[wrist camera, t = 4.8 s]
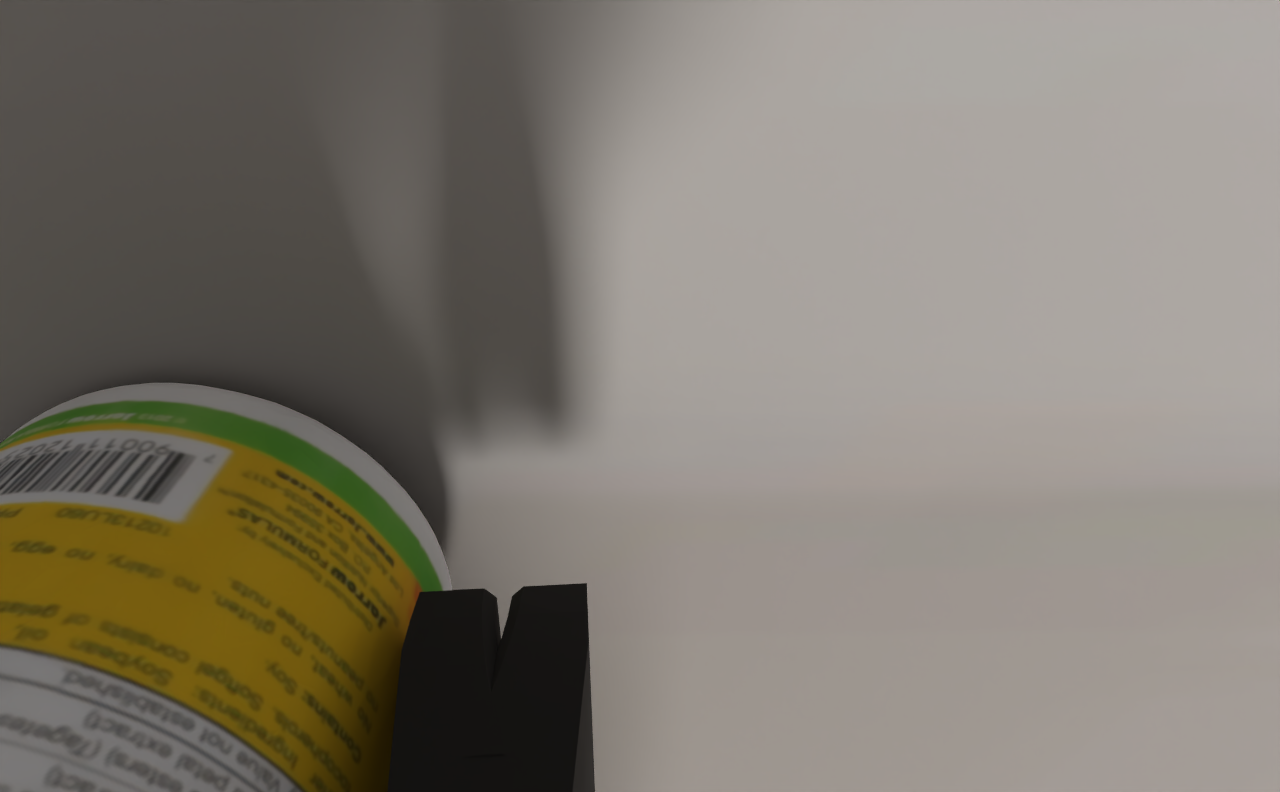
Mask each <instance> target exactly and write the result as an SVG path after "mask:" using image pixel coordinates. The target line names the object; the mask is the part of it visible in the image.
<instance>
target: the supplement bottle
mask: <svg viewBox="0 0 1280 792" xmlns="http://www.w3.org/2000/svg"><path fill="white" fill-rule="evenodd" d="M447 590H452V583H451V579H450V574H449V570H448V567H447V564H446V561H445V558H444V555H443V552H442V550H441V548H440V545H439V543H438V540H437V538H436V536H435V534H434V532H433V530H432V528H431V527H430V525H429V523H428V521H427V520H426V518H425V517H424V515H423V514H422V512H421V511H420V509H419V508H418V506H417V505H416V503H415V502H414V501H413V500H412V498H411V497H410V496H409V495H408V494H407V492H406V491H405V490H404V489H403V488H402V487H401V486H400V484H399V483H398V482H397V481H396V480H395V479H394V478H393V477H392V476H391V475H390V474H389V473H388V472H387V471H386V470H385V469H384V468H383V467H382V466H381V465H380V464H379V463H377V462H376V461H375V460H374V459H373V458H372V457H371V456H369V455H368V454H367V453H366V452H364V451H363V450H361V449H360V448H359V447H357V446H356V445H354V444H353V443H352V442H350V441H349V440H347V439H346V438H344V437H343V436H342V435H340V434H338V433H337V432H335V431H333V430H332V429H330V428H328V427H327V426H325V425H323V424H322V423H320V422H318V421H317V420H315V419H312V418H310V417H308V416H306V415H303V414H301V413H299V412H297V411H295V410H292V409H290V408H287V407H285V406H283V405H280V404H278V403H275V402H272V401H268V400H265V399H262V398H259V397H255V396H251V395H247V394H243V393H239V392H235V391H230V390H225V389H219V388H214V387H208V386H202V385H195V384H183V383H145V384H135V385H125V386H119V387H114V388H109V389H104V390H99V391H96V392H92V393H88V394H85V395H82V396H79V397H77V398H74V399H71V400H69V401H66V402H64V403H61V404H59V405H57V406H55V407H53V408H51V409H49V410H47V411H45V412H43V413H42V414H40V415H38V416H37V417H35V418H33V419H32V420H30V421H29V422H27V423H26V424H24V425H23V426H22V427H20V428H19V429H17V430H16V431H15V432H13V433H12V434H11V435H10V436H9V437H7V438H6V439H5V440H4V441H3V442H2V443H0V792H387V789H388V779H389V769H390V759H391V748H392V738H393V728H394V718H395V708H396V698H397V688H398V679H399V669H400V660H401V651H402V647H403V643H404V640H405V636H406V633H407V629H408V626H409V622H410V619H411V616H412V613H413V610H414V607H415V604H416V601H417V598H418V595H419V592H427V591H447Z"/></svg>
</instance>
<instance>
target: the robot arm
mask: <svg viewBox="0 0 1280 792" xmlns="http://www.w3.org/2000/svg"><path fill="white" fill-rule="evenodd" d="M387 792H595V785H594V759H593V734H592V708H591V683H590V658H589V633H588V607H587V583H585V584H566V585H546V586H526V587H522V588H521V589H520V590H519V591H518V592H517V593H516V594H514V595H513V596H512V600H511V605H510V609H509V614H508V618H507V622H506V625H505V629H504V632H503V635H502V639H501V635H500V625H499V615H498V606H497V598H496V597H495V596H494V595H492V594H491V593H490V592H488V591H487V590H485V589H467V590H447V591H427V592H419V595H418V598H417V601H416V604H415V607H414V610H413V613H412V616H411V619H410V622H409V626H408V629H407V633H406V636H405V640H404V643H403V647H402V651H401V660H400V669H399V679H398V688H397V698H396V708H395V718H394V728H393V738H392V748H391V759H390V769H389V779H388V789H387Z"/></svg>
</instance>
